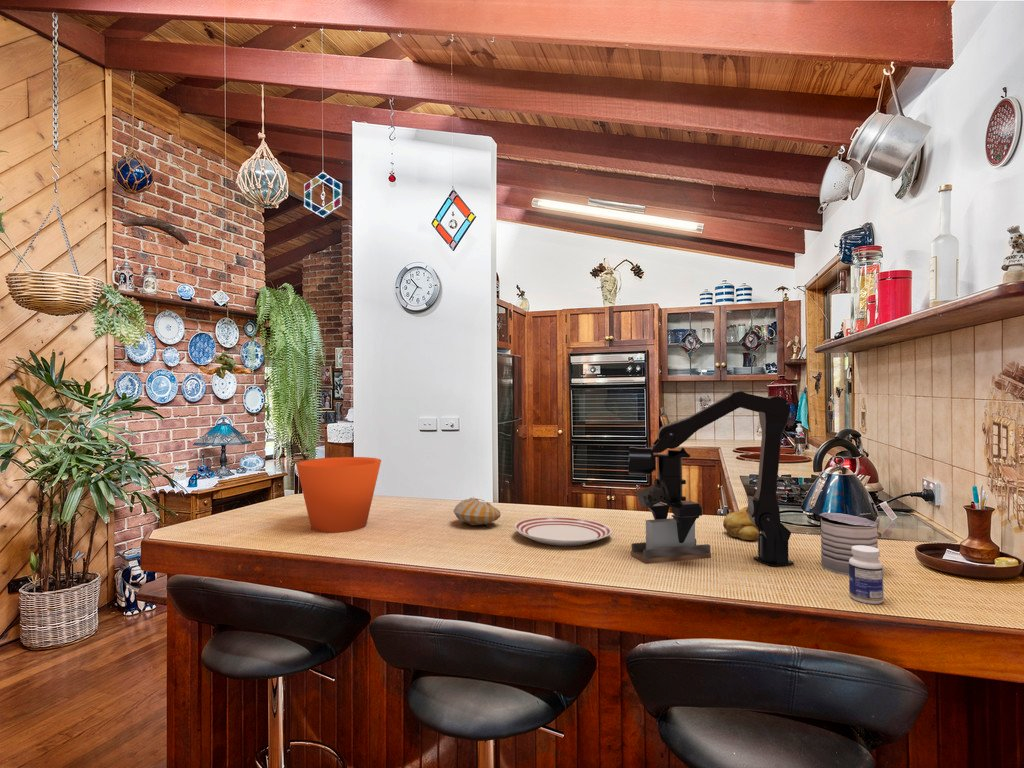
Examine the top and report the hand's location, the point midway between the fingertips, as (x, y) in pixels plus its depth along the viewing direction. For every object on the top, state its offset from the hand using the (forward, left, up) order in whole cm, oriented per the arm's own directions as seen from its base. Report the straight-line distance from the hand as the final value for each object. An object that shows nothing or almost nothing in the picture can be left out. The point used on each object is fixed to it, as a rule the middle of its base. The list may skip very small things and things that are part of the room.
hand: (670, 538), depth 137 cm
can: (-20, -34, -5) cm, 40 cm away
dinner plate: (+25, +19, -5) cm, 32 cm away
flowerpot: (+56, +80, -5) cm, 98 cm away
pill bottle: (-36, -21, -5) cm, 42 cm away
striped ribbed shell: (+49, +38, -5) cm, 62 cm away
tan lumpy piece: (+12, -30, -5) cm, 33 cm away
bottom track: (0, 0, -4) cm, 4 cm away
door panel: (0, 0, -4) cm, 4 cm away
